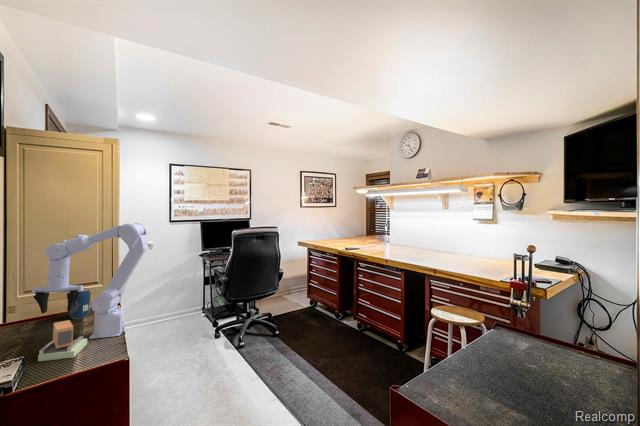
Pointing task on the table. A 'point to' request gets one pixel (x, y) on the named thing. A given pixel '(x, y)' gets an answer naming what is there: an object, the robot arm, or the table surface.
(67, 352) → the green rimmed tray
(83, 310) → the soda can
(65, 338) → the tan tapered column
